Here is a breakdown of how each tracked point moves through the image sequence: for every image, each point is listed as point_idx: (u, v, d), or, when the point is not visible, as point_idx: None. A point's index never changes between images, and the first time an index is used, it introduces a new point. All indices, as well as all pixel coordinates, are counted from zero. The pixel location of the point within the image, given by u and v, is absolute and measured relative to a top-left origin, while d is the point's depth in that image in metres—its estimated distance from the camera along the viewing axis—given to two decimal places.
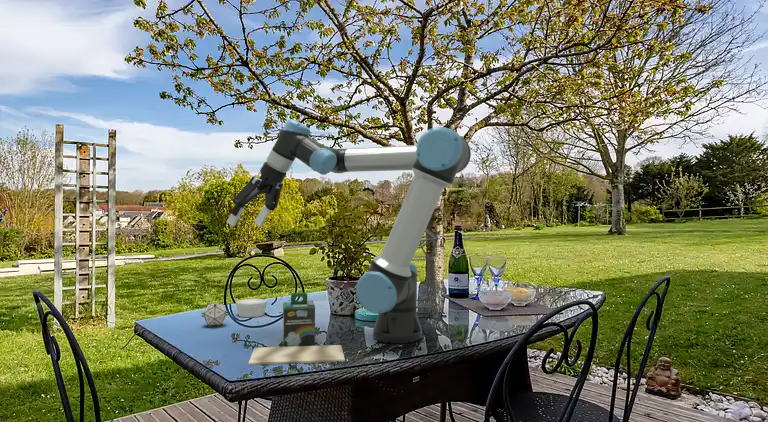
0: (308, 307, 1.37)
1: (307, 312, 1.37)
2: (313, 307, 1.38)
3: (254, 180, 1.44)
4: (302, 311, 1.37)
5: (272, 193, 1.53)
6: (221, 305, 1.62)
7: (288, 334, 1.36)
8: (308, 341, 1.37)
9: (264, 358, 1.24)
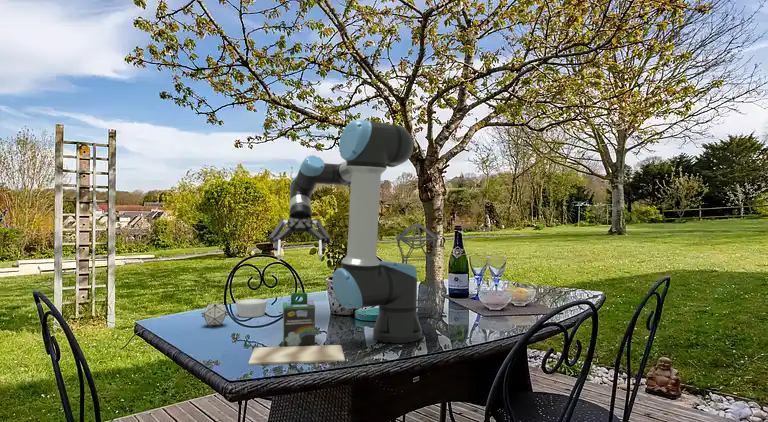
0: (308, 307, 1.37)
1: (307, 312, 1.37)
2: (313, 307, 1.38)
3: None
4: (302, 311, 1.37)
5: (308, 225, 1.64)
6: (221, 305, 1.62)
7: (288, 334, 1.36)
8: (308, 341, 1.37)
9: (264, 358, 1.24)
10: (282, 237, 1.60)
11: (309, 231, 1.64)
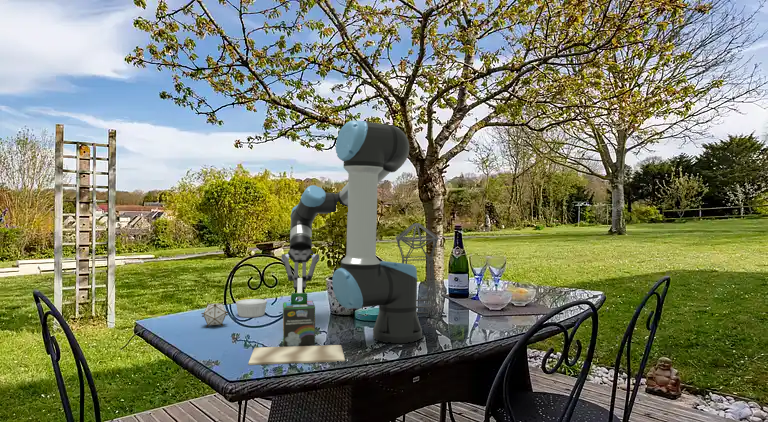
0: (308, 307, 1.37)
1: (307, 312, 1.37)
2: (313, 307, 1.38)
3: (282, 259, 1.62)
4: (302, 311, 1.37)
5: (303, 257, 1.61)
6: (221, 305, 1.62)
7: (288, 334, 1.36)
8: (308, 341, 1.37)
9: (264, 358, 1.24)
10: None
11: None
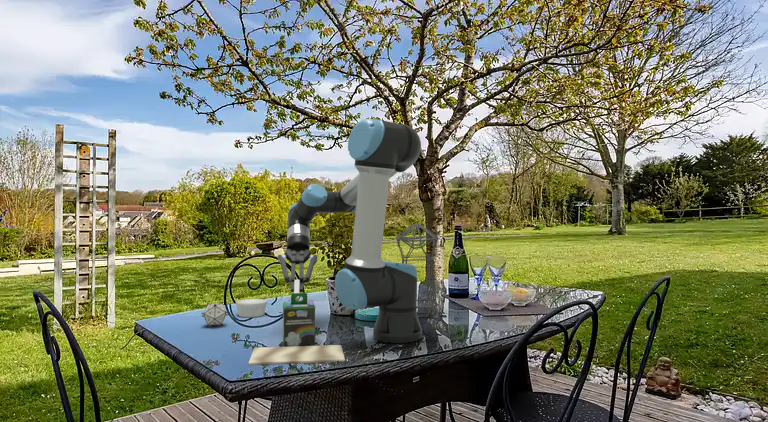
0: (308, 307, 1.37)
1: (308, 312, 1.37)
2: (313, 307, 1.38)
3: (278, 259, 1.55)
4: (302, 311, 1.37)
5: (301, 258, 1.55)
6: (221, 305, 1.62)
7: (288, 334, 1.36)
8: (308, 341, 1.37)
9: (264, 358, 1.24)
10: None
11: None
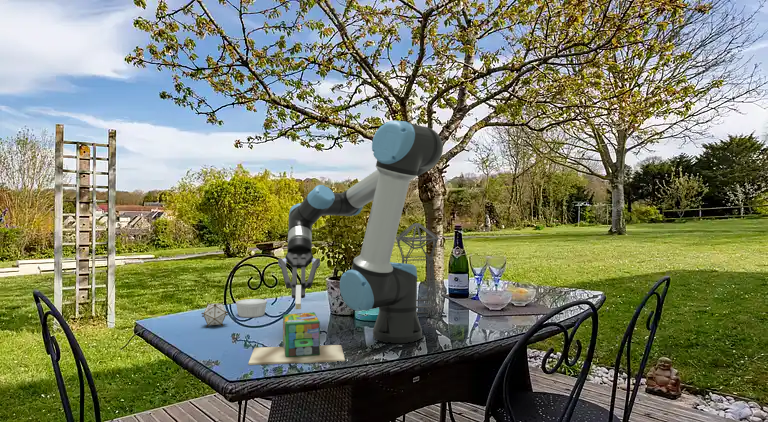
0: None
1: None
2: (317, 354, 1.27)
3: (279, 263, 1.46)
4: None
5: (302, 262, 1.46)
6: (221, 305, 1.62)
7: None
8: None
9: (264, 358, 1.24)
10: (296, 279, 1.42)
11: (301, 269, 1.46)
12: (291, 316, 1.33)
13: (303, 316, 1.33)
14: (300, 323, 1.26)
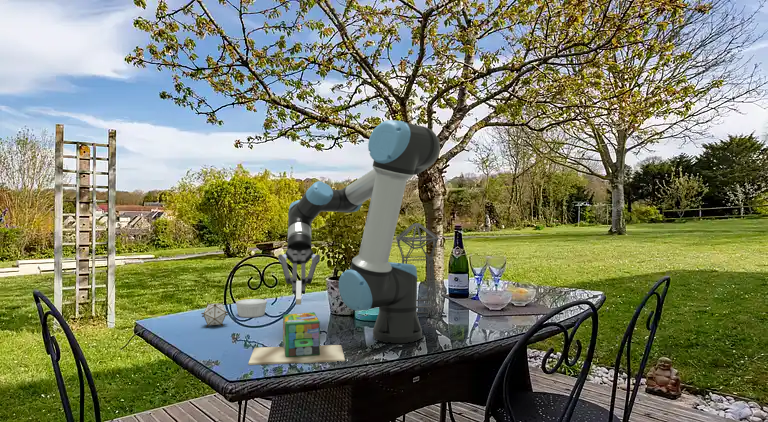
0: None
1: None
2: (317, 354, 1.27)
3: (279, 259, 1.48)
4: None
5: (303, 258, 1.47)
6: (221, 305, 1.62)
7: None
8: None
9: (264, 358, 1.24)
10: (296, 275, 1.44)
11: None
12: (291, 316, 1.33)
13: (303, 316, 1.33)
14: (300, 323, 1.26)
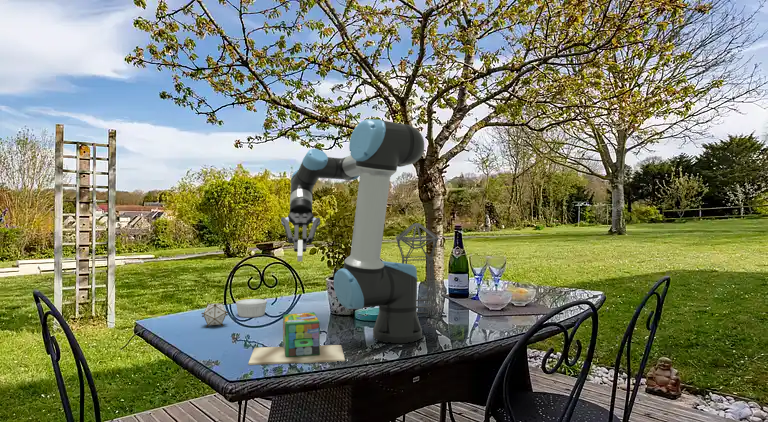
0: None
1: None
2: (317, 354, 1.27)
3: (282, 222, 1.58)
4: None
5: (304, 220, 1.58)
6: (221, 305, 1.62)
7: None
8: None
9: (264, 358, 1.24)
10: None
11: None
12: (291, 316, 1.33)
13: (303, 316, 1.33)
14: (300, 323, 1.26)
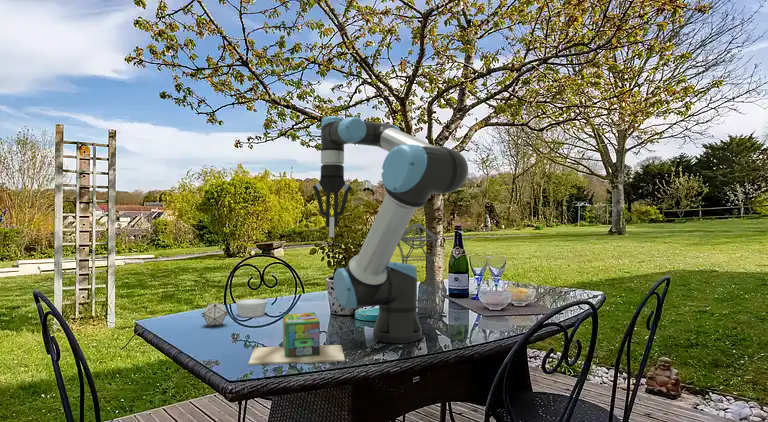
0: None
1: None
2: (317, 354, 1.27)
3: (313, 189, 1.57)
4: None
5: (335, 191, 1.56)
6: (221, 305, 1.62)
7: None
8: None
9: (264, 358, 1.24)
10: (329, 208, 1.57)
11: None
12: (291, 316, 1.33)
13: (303, 316, 1.33)
14: (300, 323, 1.26)
